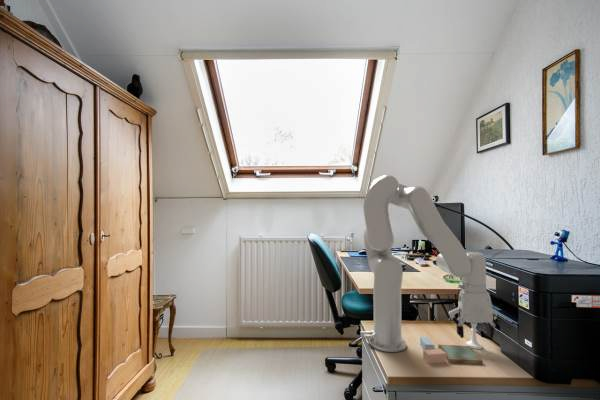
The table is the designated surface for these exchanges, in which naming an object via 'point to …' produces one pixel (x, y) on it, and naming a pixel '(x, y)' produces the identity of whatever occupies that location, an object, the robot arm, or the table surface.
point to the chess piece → (474, 338)
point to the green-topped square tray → (460, 354)
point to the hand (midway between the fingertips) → (475, 336)
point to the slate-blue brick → (426, 343)
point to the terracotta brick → (434, 356)
